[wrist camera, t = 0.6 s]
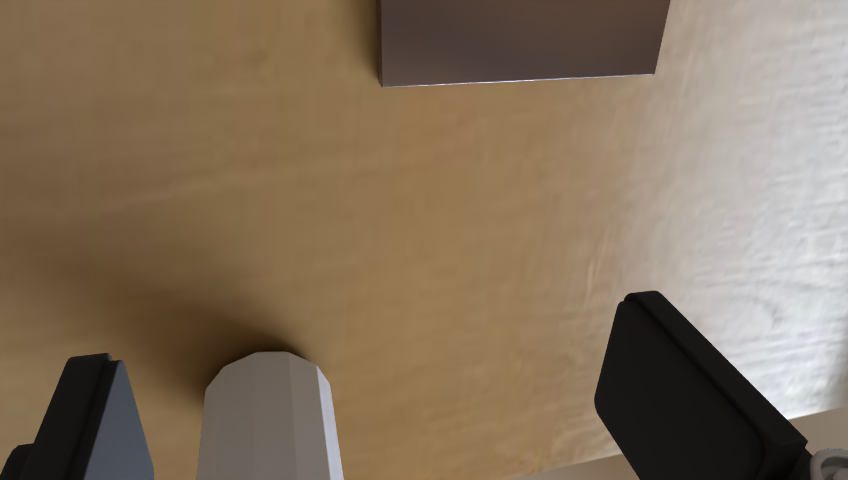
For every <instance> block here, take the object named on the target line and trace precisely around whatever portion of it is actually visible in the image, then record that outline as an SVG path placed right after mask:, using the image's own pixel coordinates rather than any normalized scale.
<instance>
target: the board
mask: <svg viewBox="0 0 848 480" xmlns="http://www.w3.org/2000/svg"><path fill="white" fill-rule="evenodd" d="M669 5H670V0H377V25H378V76H379V84H380V85H381V87H382V88H386V87H407V86H428V85H449V84H469V83H490V82H511V81H532V80H553V79H574V78H595V77H616V76H637V75H654V74H655V70H656V65H657V60H658V56H659V51H660V46H661V42H662V37H663V32H664V28H665V23H666V19H667V14H668V9H669Z"/></svg>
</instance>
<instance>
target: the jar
mask: <svg viewBox="0 0 848 480" xmlns="http://www.w3.org/2000/svg"><path fill="white" fill-rule="evenodd" d="M196 480H344V479H343V472H342V465H341V458H340V452H339V445H338V438H337V431H336V424H335V417H334V410H333V403H332V396H331V389H330V384H329V383H328V381H327V380H326V378H325V377H324V375H323V374H322V372H321V371H320V369H319V368H318V366H317V364H314V363H312V362H310V361H307V360H305V359H303V358H301V357H298V356H296V355H294V354H291V353H289V352H286V351H273V352H256V353H253V354H251V355H249V356H247V357H244V358H242V359H240V360H238V361H235V362H233V363H231V364H229V365H226V366H224V367H223V368H222V369H221V371H220V372H219V373H218V375H217V376H216V377H215V378H214V380H213V381H212V382H211V383H210V385H209V386H208V387H207V388H206V392H205V401H204V411H203V420H202V429H201V439H200V448H199V458H198V467H197V477H196Z"/></svg>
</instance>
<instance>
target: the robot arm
mask: <svg viewBox="0 0 848 480" xmlns="http://www.w3.org/2000/svg"><path fill="white" fill-rule="evenodd" d="M594 403H595V408H596V411H597V413H598V415H599V417H600V418H601V420H602V422H603V423H604V425H605V426H606V428H607V429H608V431H609V432H610V434H611V435H612V437H613V439H614V440H615V442H616V443H617V445H618V446H619V448H620V449H621V451H622V453H623V454H624V456H625V457H626V459H627V460H628V462H629V463H630V465H631V466H632V468H633V470H634V471H635V472H636V474H637V476H638V477H639V479H640V480H848V451H847V450H843V449H829V448H828V449H824V450H821V451H818V452H817V453H816V454H815V455H814V456H812V455H811V454H810V453H809V452H808V451H807V450H806V449H805V446H806V444H807V442H808V441H807V440H806V439H805V437H804V436H802V435H801V433H800V432H799V431H798V430H797V429H795V428H794V427H793V425H792V424H791V423H790V422H789V421H788V420H787V419H786V418H785V417H784V416H783V415H782V414H781V413H780V412H779V411H778V410H777V409H776V408H775V407H774V406H773V405H772V404H771V403H770V402H769V401H768V400H767V399H766V398H765V397H764V396H763V395H762V394H761V393H760V392H759V391H758V390H757V389H756V388H755V387H754V386H753V385H752V384H751V383H750V382H749V381H748V380H747V379H746V378H745V377H744V376H743V375H742V374H741V373H740V372H739V371H738V370H737V369H736V368H735V367H734V366H733V365H732V364H731V363H730V362H729V361H728V360H727V359H726V358H725V357H724V356H723V355H722V354H721V353H720V352H719V351H718V350H717V349H716V348H715V347H714V346H713V345H712V344H711V343H710V342H709V341H708V340H707V339H706V338H705V337H704V336H703V335H702V334H701V333H700V332H699V331H698V330H697V329H696V328H695V327H694V326H693V325H692V324H691V323H690V322H689V321H688V320H687V319H686V318H685V317H684V316H683V315H682V314H681V313H680V312H679V311H678V310H677V309H676V308H675V307H674V306H673V305H672V304H671V303H670V302H669V301H668V300H667V299H666V298H665V297H664V296H663V295H662V294H661V293H659V292H658V291H645V292H637V293H630V294H628V295H627V296H626V297H625V298H624V301H622V302H620V303H619V304H618V306H617V310H616V314H615V318H614V322H613V326H612V329H611V333H610V337H609V341H608V345H607V349H606V353H605V357H604V361H603V365H602V369H601V373H600V377H599V381H598V385H597V389H596V393H595V398H594ZM0 480H154V469H153V464H152V460H151V457H150V453H149V450H148V446H147V442H146V439H145V435H144V432H143V428H142V425H141V421H140V417H139V414H138V410H137V407H136V403H135V399H134V396H133V392H132V389H131V385H130V382H129V378H128V374H127V371H126V367H125V364H124V362H123V361H122V360H117V361H113V360H112V357H111V356H110V354H108V353H102V354H94V355H85V356H76V357H71V358H69V359H68V361H67V363H66V365H65V367H64V370H63V372H62V375H61V377H60V380H59V382H58V385H57V387H56V390H55V392H54V394H53V397H52V399H51V402H50V404H49V407H48V409H47V412H46V414H45V416H44V419H43V421H42V424H41V426H40V429H39V431H38V434H37V436H36V438H35V441H34V443H32V444H25V445H18V446H17V447H16V448H15V449H14V450H13V451H12V452H11V454H10V456H9V457H8V459H7V461H6V464H5V466H4V468H3V470H2V473H1V475H0Z"/></svg>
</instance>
